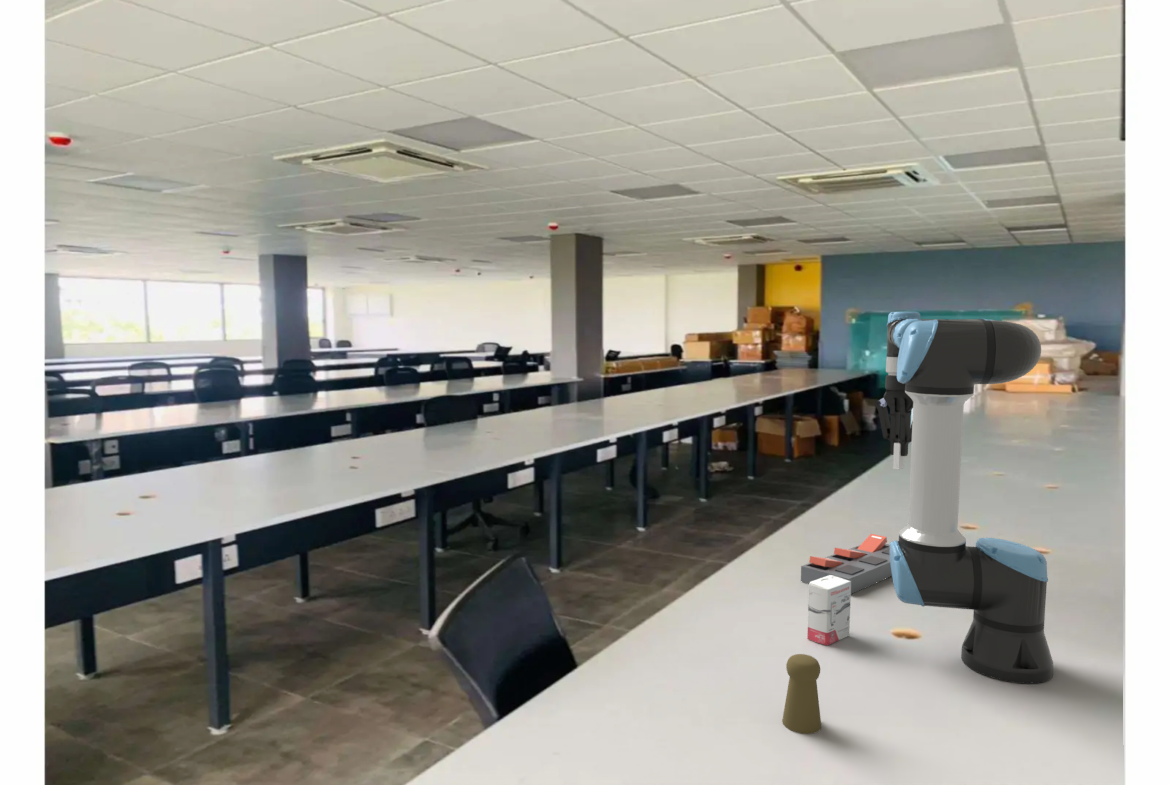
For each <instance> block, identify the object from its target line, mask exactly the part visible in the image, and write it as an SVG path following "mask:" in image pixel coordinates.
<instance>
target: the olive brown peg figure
mask: <svg viewBox="0 0 1170 785" xmlns="http://www.w3.org/2000/svg"><path fill="white" fill-rule="evenodd" d="M785 666H786V668H785V669H786V671H787V672H786V673H787V675H788V676H789V679H788V685H787V691H786V696H785V702H784V709H783V715H782V721H781V722H782V725H783V726H784V727H785V728H786V729H787V730H790V731H792V732H794V733H798V734H806V735H810V734H815V733H817V732H819V731H821V729H822V720H821V719H822V718H821V711H820V704H819V702H820V701H819V691H818V683H817V680H818V679H819V677H820V674H821V665H820V663H819V660H817V659H816V658H815V657H814V656H812V655H810V654H804V653H803V654H802V653H797V654H796V653H795V654H793V655H791V656H790V657H788V659H787V661H786V664H785Z"/></svg>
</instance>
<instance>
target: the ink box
mask: <svg viewBox="0 0 1170 785" xmlns="http://www.w3.org/2000/svg"><path fill="white" fill-rule="evenodd" d="M807 593H808V595H807V596H808V597H807V598H808V599H807V602H808V603H807V640H810V641H811V642H815V643H818V644H820V645H822V646H830V645H832V644H835V642H839V641H840V640H842V639H845V638H847V637H849V636H850V628H851V627H850V626H851V624H850V622H851V620H850V619H851V598H852V596H851V595H852V594H851V581H848V580H845V579H842V578H839V577H836V576H833V575H828V576H826V577H823V578H820V579H817V580H814V581H811V582H810V583H809V584H808V589H807Z"/></svg>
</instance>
